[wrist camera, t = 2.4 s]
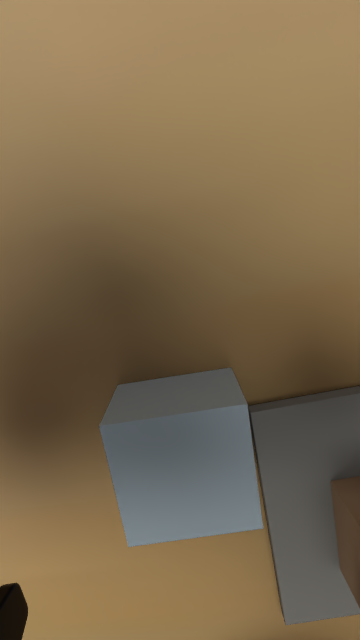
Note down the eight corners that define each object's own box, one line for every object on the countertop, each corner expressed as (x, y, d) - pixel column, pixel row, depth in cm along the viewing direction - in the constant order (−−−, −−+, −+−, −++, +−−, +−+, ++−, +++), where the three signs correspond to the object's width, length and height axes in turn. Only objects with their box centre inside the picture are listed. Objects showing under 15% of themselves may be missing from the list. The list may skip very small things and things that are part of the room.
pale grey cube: (230, 365, 14) (247, 403, 10) (244, 464, 15) (263, 528, 12) (118, 383, 14) (98, 426, 11) (139, 479, 15) (128, 547, 12)
